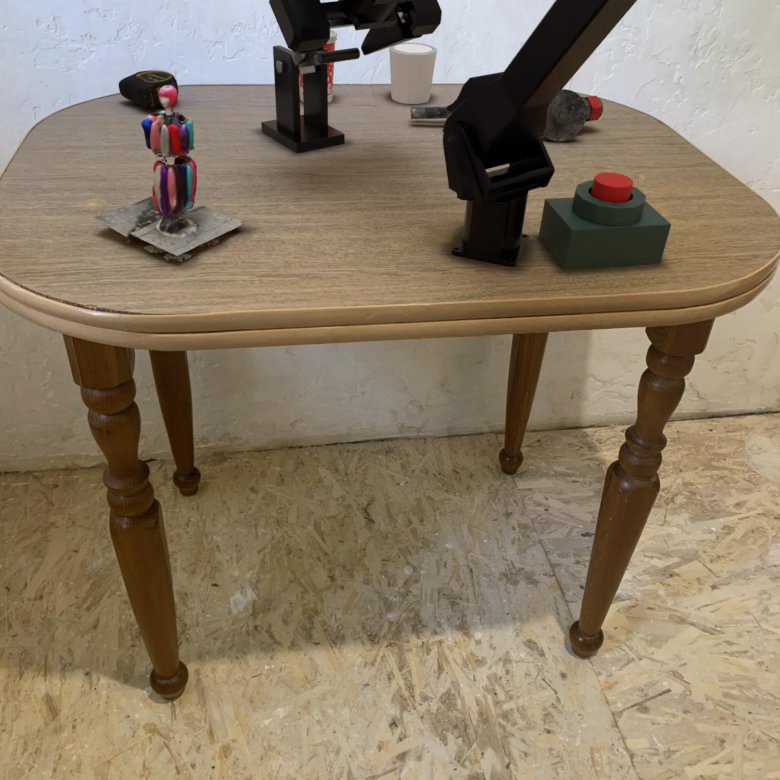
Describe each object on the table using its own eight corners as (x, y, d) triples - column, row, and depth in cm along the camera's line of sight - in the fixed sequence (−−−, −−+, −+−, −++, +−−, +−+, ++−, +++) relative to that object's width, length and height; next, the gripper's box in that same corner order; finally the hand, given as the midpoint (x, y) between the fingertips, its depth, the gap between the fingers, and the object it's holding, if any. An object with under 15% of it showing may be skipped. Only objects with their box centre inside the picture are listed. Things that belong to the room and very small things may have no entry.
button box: (564, 270, 73) (575, 211, 69) (538, 237, 78) (547, 181, 75) (660, 264, 75) (676, 206, 71) (628, 232, 80) (642, 176, 77)
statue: (244, 240, 78) (250, 92, 68) (177, 275, 72) (173, 116, 62) (165, 200, 82) (159, 54, 72) (94, 230, 75) (78, 74, 66)
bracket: (344, 143, 98) (345, 53, 91) (296, 153, 94) (293, 60, 88) (308, 122, 103) (305, 36, 97) (261, 131, 100) (256, 42, 93)
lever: (361, 64, 88) (358, 41, 87) (324, 69, 85) (320, 46, 84) (314, 72, 96) (310, 51, 95) (279, 77, 94) (275, 56, 93)
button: (600, 205, 72) (604, 187, 70) (584, 190, 74) (588, 172, 73) (635, 203, 72) (640, 186, 71) (619, 188, 75) (623, 171, 74)
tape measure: (119, 103, 107) (114, 75, 105) (161, 93, 111) (157, 66, 109) (147, 115, 103) (142, 86, 101) (189, 104, 107) (186, 76, 105)
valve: (583, 121, 114) (610, 141, 101) (408, 123, 114) (412, 144, 101) (588, 74, 111) (616, 89, 98) (408, 77, 111) (412, 92, 97)
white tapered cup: (441, 97, 115) (445, 47, 110) (418, 108, 110) (421, 56, 106) (402, 88, 117) (404, 39, 113) (378, 99, 113) (379, 48, 108)
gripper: (433, -116, 79) (369, -15, 92) (272, -113, 70) (228, -2, 83) (476, -16, 79) (405, 70, 92) (320, -1, 70) (267, 92, 83)
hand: (330, 56), depth 88 cm, fingers open, 9 cm apart
